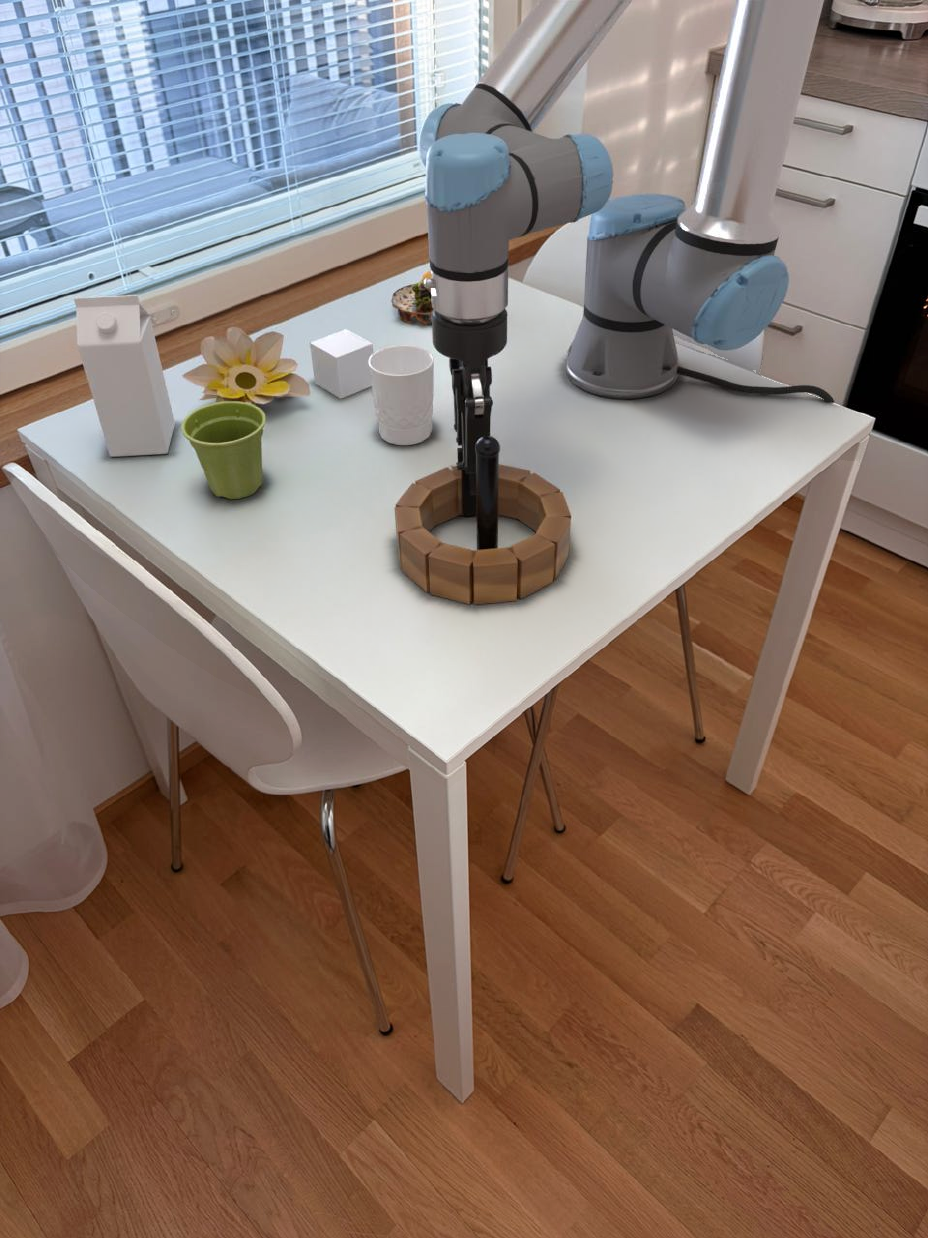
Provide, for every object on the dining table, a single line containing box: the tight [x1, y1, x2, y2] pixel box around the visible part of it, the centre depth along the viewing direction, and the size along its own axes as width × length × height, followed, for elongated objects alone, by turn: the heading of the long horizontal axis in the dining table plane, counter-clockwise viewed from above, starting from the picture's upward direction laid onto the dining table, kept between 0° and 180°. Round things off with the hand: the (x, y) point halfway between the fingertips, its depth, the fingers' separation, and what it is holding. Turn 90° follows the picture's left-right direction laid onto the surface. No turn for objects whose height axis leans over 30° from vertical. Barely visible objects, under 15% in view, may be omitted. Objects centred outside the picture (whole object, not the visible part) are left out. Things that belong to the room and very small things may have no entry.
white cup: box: [369, 344, 435, 446], centre depth 123 cm, size 8×8×10 cm
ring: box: [394, 463, 572, 606], centre depth 106 cm, size 18×18×5 cm
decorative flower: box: [181, 325, 312, 406], centre depth 128 cm, size 15×11×10 cm
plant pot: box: [180, 401, 267, 500], centre depth 115 cm, size 9×9×9 cm
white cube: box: [309, 328, 375, 400], centre depth 134 cm, size 6×6×6 cm
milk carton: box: [73, 294, 176, 457], centre depth 119 cm, size 7×7×19 cm
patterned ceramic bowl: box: [390, 270, 434, 325], centre depth 151 cm, size 12×12×8 cm
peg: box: [475, 435, 501, 550], centre depth 100 cm, size 4×4×16 cm
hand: (472, 504), depth 113 cm, fingers closed on ring, 2 cm apart
